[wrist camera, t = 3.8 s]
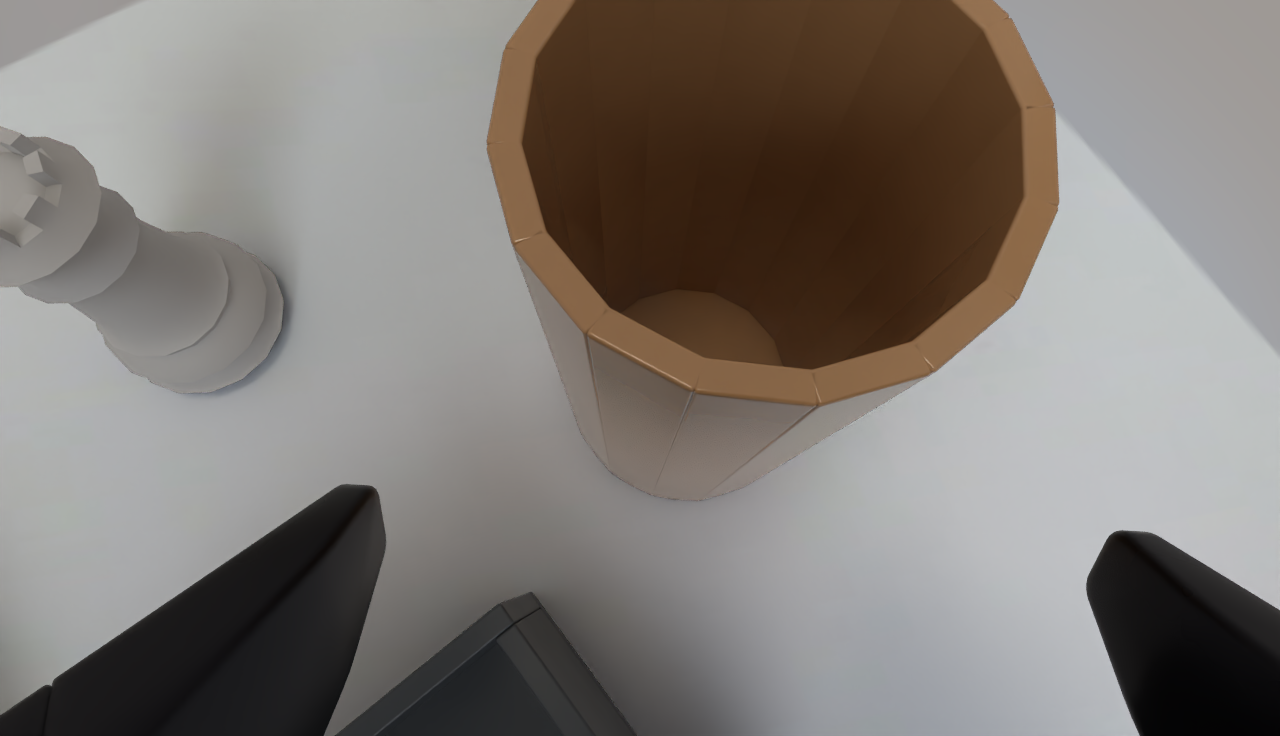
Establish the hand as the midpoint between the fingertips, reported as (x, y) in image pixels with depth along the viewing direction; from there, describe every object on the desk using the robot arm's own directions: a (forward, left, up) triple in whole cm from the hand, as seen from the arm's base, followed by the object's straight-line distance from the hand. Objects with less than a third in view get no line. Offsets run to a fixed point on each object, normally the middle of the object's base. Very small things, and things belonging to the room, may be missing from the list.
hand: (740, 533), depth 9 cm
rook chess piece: (+13, +7, -11) cm, 19 cm away
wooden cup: (+3, -3, -11) cm, 12 cm away
